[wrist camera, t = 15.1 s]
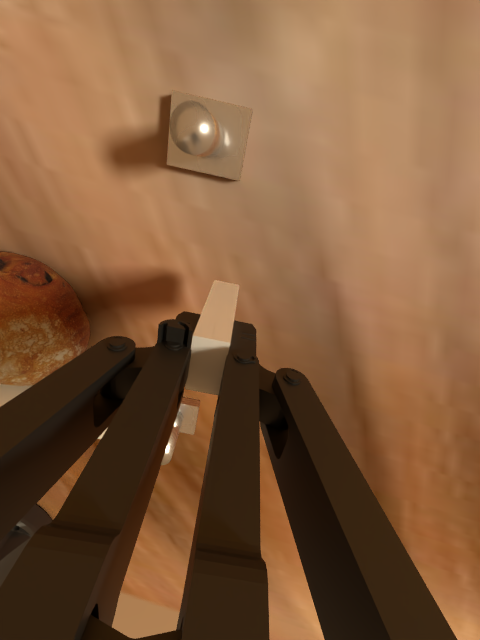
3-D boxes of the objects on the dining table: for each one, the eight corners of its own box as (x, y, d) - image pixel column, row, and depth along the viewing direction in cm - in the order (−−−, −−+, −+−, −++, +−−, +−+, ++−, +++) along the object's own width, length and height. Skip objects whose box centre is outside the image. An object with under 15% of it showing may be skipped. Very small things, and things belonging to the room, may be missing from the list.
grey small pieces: (150, 419, 28) (130, 466, 24) (175, 93, 16) (144, 64, 12) (195, 428, 28) (183, 475, 24) (252, 111, 16) (249, 89, 12)
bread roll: (15, 320, 28) (-39, 398, 24) (-71, 230, 20) (-181, 322, 15) (115, 328, 28) (81, 409, 23) (70, 241, 20) (3, 339, 15)
